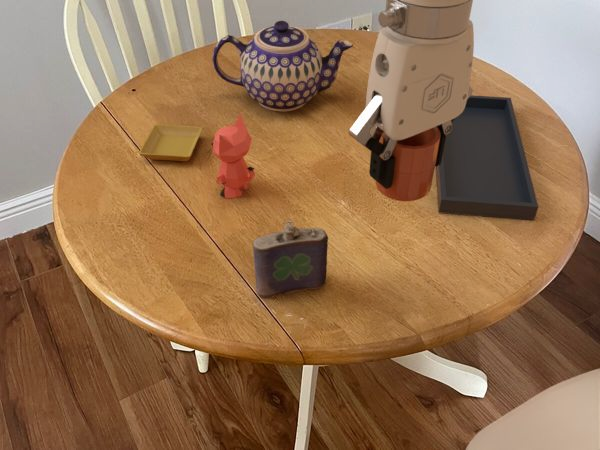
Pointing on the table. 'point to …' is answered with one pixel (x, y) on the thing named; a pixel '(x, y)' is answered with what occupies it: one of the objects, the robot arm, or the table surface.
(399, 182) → the flower pot
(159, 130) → the yellow square dish
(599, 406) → the robot arm
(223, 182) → the cat figurine
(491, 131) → the tray
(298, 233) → the flask
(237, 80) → the teapot
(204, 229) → the table surface
